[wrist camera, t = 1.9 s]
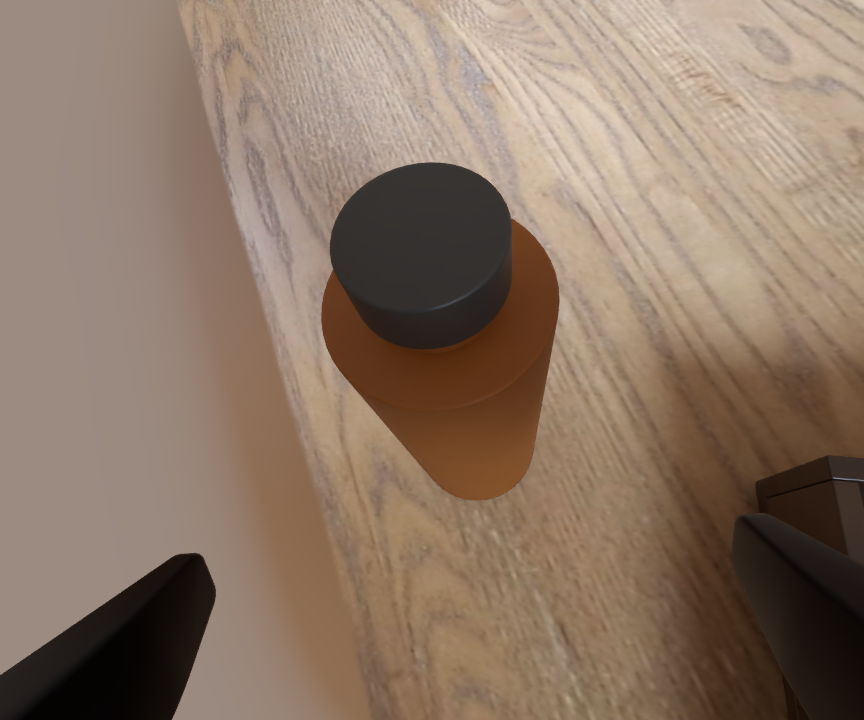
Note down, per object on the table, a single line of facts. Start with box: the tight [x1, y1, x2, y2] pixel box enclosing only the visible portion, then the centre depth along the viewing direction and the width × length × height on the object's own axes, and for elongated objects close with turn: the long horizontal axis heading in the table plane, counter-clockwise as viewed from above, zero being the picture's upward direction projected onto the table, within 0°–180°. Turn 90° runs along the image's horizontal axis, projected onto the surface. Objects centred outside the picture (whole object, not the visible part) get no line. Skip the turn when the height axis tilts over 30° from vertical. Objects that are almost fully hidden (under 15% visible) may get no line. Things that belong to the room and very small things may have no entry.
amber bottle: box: [321, 163, 559, 500], centre depth 14 cm, size 5×5×14 cm
